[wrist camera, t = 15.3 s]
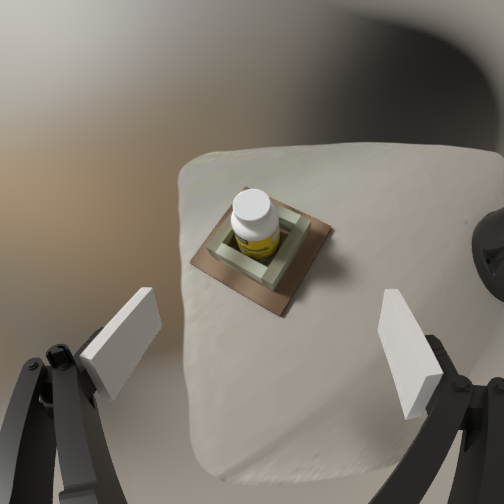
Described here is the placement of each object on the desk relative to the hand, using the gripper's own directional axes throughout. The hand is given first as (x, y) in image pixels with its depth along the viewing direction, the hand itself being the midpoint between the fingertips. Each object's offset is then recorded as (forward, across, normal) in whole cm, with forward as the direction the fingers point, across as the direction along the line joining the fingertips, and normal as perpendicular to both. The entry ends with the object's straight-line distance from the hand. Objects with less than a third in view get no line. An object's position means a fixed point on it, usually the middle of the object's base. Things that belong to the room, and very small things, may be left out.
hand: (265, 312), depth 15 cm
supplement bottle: (+23, -3, -4) cm, 23 cm away
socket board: (+23, -3, -5) cm, 24 cm away
